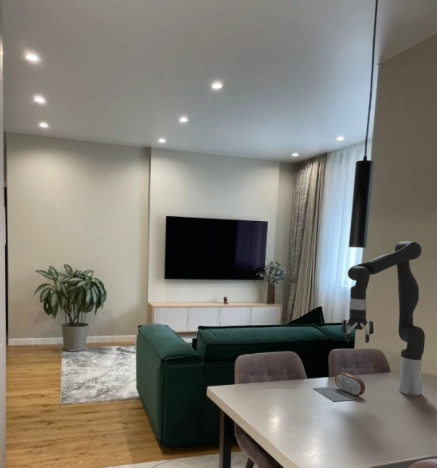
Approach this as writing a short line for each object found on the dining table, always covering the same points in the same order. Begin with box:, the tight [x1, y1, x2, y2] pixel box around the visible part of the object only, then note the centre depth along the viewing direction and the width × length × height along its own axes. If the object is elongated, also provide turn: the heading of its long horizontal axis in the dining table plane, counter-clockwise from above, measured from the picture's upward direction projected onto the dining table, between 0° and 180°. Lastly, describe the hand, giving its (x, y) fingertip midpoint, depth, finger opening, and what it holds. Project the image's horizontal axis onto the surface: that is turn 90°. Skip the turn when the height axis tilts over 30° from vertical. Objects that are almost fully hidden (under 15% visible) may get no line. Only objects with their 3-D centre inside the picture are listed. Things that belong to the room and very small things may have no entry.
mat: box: [312, 386, 357, 403], centre depth 177 cm, size 12×16×1 cm
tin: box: [334, 371, 366, 397], centre depth 180 cm, size 15×3×8 cm, turn 37°
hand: (357, 342), depth 179 cm, fingers open, 8 cm apart
